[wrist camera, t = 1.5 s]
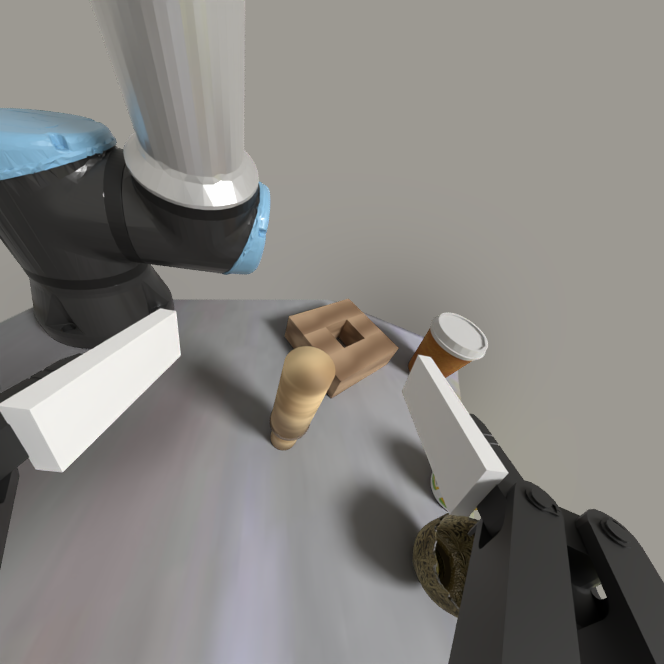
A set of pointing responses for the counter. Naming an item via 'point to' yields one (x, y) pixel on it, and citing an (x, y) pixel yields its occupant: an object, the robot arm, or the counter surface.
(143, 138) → the robot arm
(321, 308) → the seat block
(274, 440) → the leg
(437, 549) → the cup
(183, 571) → the counter surface
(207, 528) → the counter surface
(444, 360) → the disposable coffee cup
